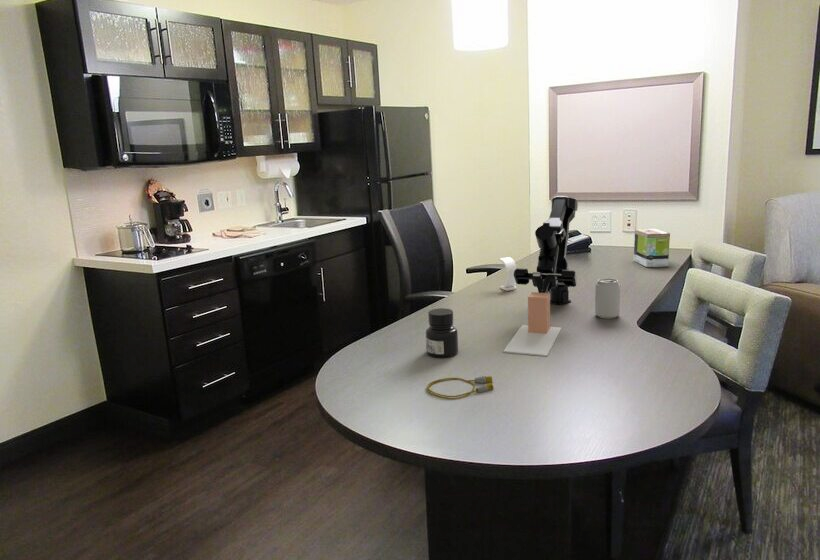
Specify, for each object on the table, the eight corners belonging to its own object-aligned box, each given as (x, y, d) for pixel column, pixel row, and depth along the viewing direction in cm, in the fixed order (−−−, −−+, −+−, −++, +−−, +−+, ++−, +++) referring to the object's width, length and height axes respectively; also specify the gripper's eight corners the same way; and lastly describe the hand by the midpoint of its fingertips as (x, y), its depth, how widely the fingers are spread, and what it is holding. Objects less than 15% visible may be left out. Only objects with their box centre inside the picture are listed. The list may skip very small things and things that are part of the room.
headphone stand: (509, 286, 229) (509, 256, 226) (518, 289, 224) (518, 259, 221) (499, 288, 227) (499, 258, 225) (508, 291, 222) (508, 260, 219)
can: (621, 319, 181) (622, 282, 178) (596, 319, 182) (597, 282, 180) (617, 312, 188) (618, 276, 185) (593, 312, 190) (594, 277, 187)
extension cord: (487, 404, 129) (487, 396, 129) (421, 398, 134) (420, 390, 134) (497, 382, 140) (497, 375, 140) (435, 378, 145) (435, 370, 145)
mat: (522, 325, 180) (522, 324, 180) (561, 328, 175) (561, 327, 175) (503, 352, 159) (503, 350, 159) (547, 356, 154) (547, 354, 154)
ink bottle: (421, 350, 164) (418, 310, 161) (448, 344, 167) (446, 305, 164) (435, 361, 155) (433, 318, 152) (464, 355, 158) (463, 313, 156)
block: (532, 326, 178) (531, 292, 175) (550, 327, 176) (550, 293, 173) (528, 332, 173) (527, 296, 170) (546, 333, 170) (546, 297, 168)
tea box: (669, 266, 247) (670, 232, 244) (645, 267, 247) (647, 233, 244) (655, 259, 262) (656, 227, 258) (632, 261, 262) (634, 228, 259)
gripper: (580, 273, 186) (575, 315, 178) (522, 271, 193) (515, 311, 186) (577, 253, 177) (571, 297, 169) (517, 252, 184) (509, 294, 177)
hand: (541, 300), depth 176 cm, fingers closed
